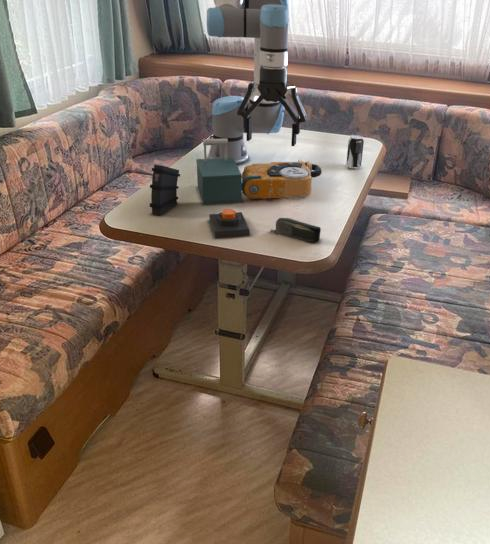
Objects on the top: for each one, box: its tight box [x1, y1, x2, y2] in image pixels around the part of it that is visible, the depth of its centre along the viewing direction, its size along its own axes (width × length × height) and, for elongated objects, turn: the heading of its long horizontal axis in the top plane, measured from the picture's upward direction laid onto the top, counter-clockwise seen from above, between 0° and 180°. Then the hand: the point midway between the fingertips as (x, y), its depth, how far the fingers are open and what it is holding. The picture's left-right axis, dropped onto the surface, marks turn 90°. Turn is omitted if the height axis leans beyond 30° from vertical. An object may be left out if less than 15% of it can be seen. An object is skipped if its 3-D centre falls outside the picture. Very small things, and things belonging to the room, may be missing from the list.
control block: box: [208, 211, 250, 239], centre depth 171 cm, size 12×10×4 cm
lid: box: [195, 138, 242, 179], centre depth 188 cm, size 16×13×8 cm
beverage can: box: [345, 134, 365, 170], centre depth 219 cm, size 6×6×12 cm
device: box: [241, 159, 323, 200], centre depth 199 cm, size 23×8×30 cm
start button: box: [221, 208, 237, 219], centre depth 170 cm, size 4×4×2 cm
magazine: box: [149, 164, 181, 217], centre depth 180 cm, size 4×13×15 cm, turn 160°
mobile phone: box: [270, 217, 322, 244], centre depth 167 cm, size 5×3×15 cm
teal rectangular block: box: [196, 164, 243, 206], centre depth 192 cm, size 16×13×9 cm
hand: (271, 142), depth 169 cm, fingers open, 13 cm apart
